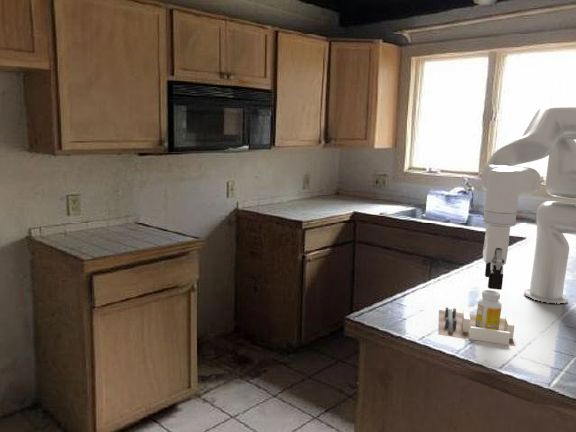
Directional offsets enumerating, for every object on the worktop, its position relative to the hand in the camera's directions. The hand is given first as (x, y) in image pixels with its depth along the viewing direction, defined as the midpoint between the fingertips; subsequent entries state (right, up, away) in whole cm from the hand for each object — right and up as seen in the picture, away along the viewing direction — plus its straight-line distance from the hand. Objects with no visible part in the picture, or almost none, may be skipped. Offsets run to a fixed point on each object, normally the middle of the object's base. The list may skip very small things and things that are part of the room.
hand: (492, 282), depth 130 cm
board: (-3, -13, +4) cm, 14 cm away
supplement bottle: (-1, -13, +2) cm, 13 cm away
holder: (-2, -13, -1) cm, 13 cm away
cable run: (-9, -12, +6) cm, 16 cm away
